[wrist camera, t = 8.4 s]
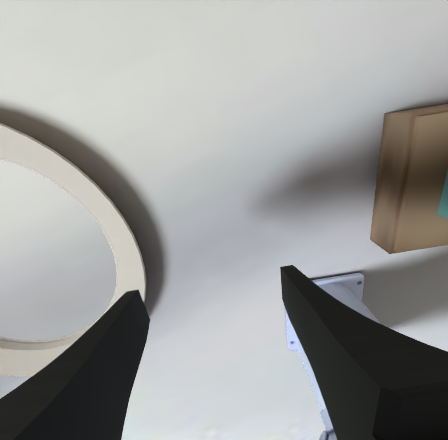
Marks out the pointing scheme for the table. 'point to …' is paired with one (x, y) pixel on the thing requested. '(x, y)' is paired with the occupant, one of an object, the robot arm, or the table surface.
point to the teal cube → (444, 200)
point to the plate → (103, 214)
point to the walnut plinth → (411, 180)
